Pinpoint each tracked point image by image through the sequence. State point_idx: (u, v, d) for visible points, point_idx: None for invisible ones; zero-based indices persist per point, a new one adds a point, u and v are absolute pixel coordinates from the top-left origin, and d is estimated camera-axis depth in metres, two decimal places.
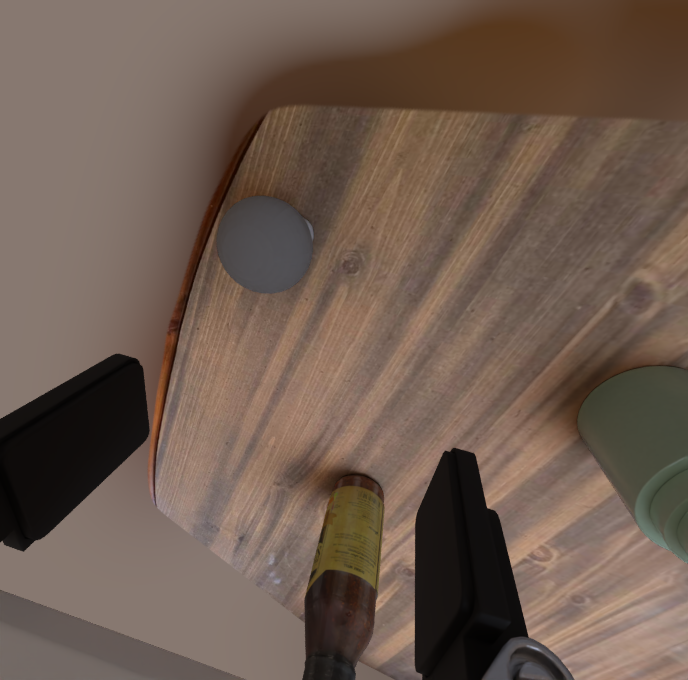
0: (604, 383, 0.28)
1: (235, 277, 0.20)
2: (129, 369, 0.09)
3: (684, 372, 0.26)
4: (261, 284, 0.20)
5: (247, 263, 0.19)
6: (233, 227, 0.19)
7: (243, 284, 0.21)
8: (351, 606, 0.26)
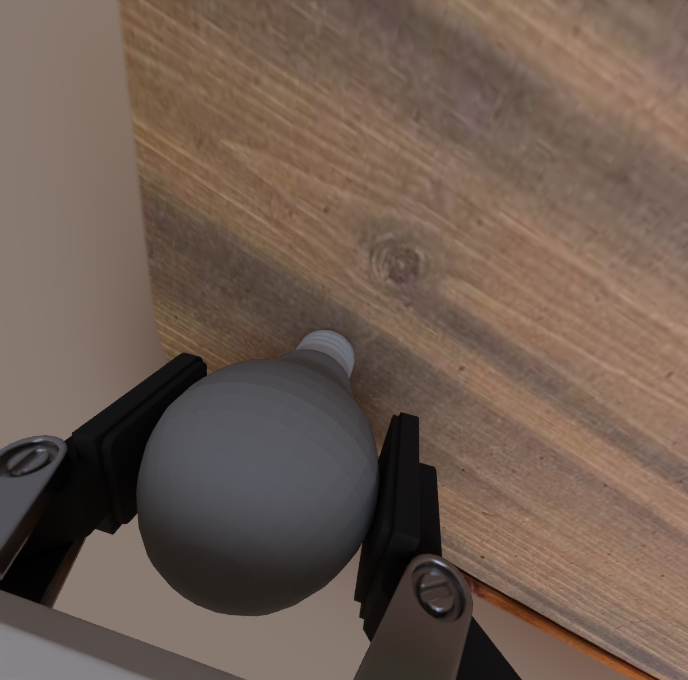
0: None
1: (291, 605, 0.07)
2: (197, 367, 0.10)
3: None
4: (309, 564, 0.06)
5: (227, 594, 0.06)
6: (157, 570, 0.07)
7: (317, 590, 0.07)
8: None
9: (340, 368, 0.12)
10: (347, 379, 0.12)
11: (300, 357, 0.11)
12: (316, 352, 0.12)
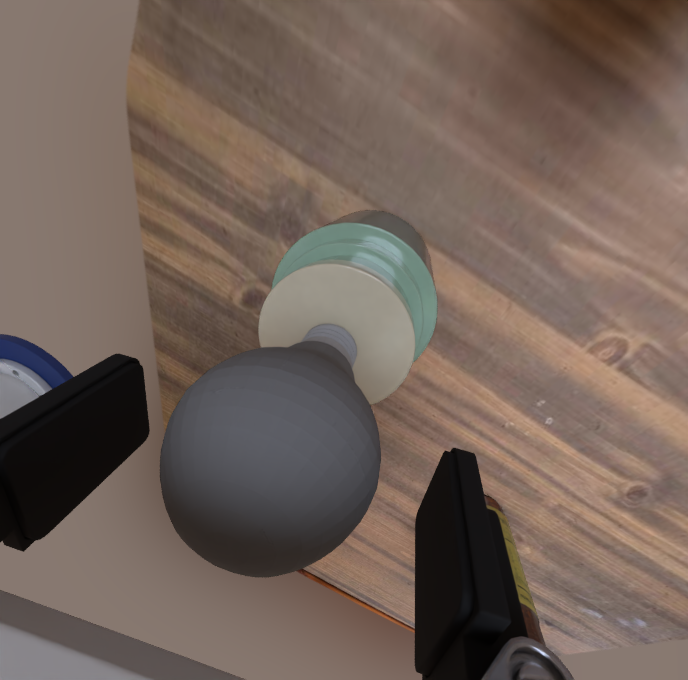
0: None
1: (300, 568, 0.08)
2: (129, 369, 0.09)
3: None
4: (317, 527, 0.07)
5: (244, 552, 0.07)
6: (179, 535, 0.08)
7: (324, 554, 0.08)
8: None
9: (343, 358, 0.12)
10: (350, 369, 0.12)
11: (306, 347, 0.12)
12: (321, 343, 0.12)
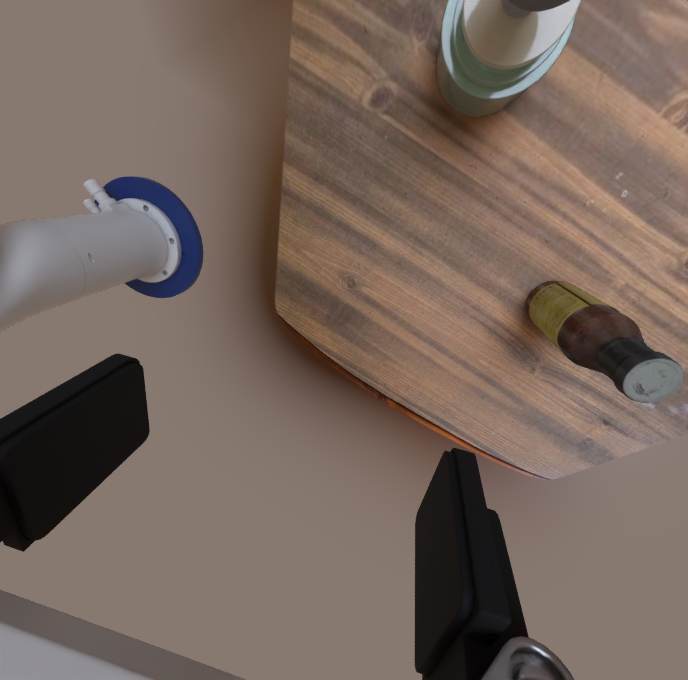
0: (447, 103, 0.37)
1: None
2: (129, 369, 0.09)
3: None
4: None
5: None
6: None
7: None
8: (577, 328, 0.32)
9: None
10: None
11: None
12: None
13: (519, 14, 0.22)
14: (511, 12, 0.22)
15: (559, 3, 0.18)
